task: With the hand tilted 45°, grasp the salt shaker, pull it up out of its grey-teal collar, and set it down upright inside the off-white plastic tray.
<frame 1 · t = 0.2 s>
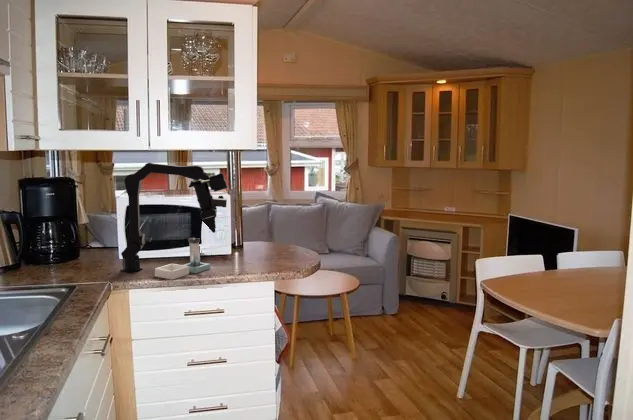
hand: (214, 230, 216), 16 cm above the countertop, tool pointing down, fingers open, 9 cm apart
tray: (172, 275, 205), on the countertop
salt shaker: (194, 254, 212), in the collar
collar: (195, 269, 213), on the countertop
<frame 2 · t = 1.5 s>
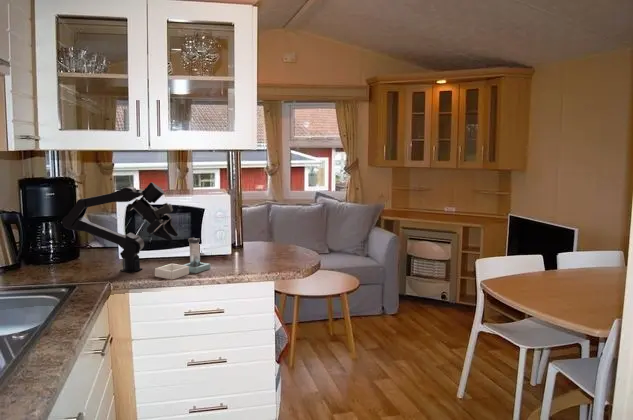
hand: (174, 237, 211), 13 cm above the countertop, tool tilted 45°, fingers open, 9 cm apart
nothing on the countertop moved.
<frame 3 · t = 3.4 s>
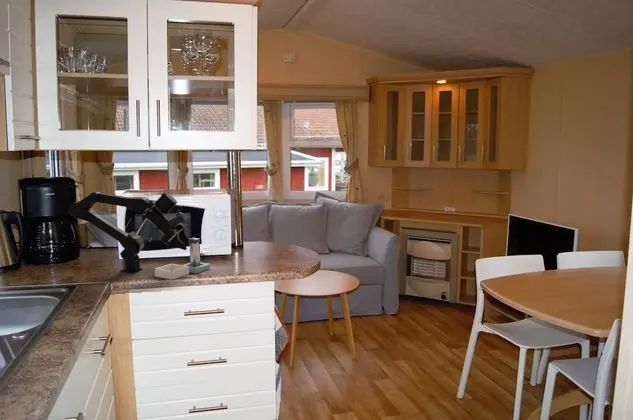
hand: (188, 247, 212), 10 cm above the countertop, tool tilted 45°, fingers open, 9 cm apart
nothing on the countertop moved.
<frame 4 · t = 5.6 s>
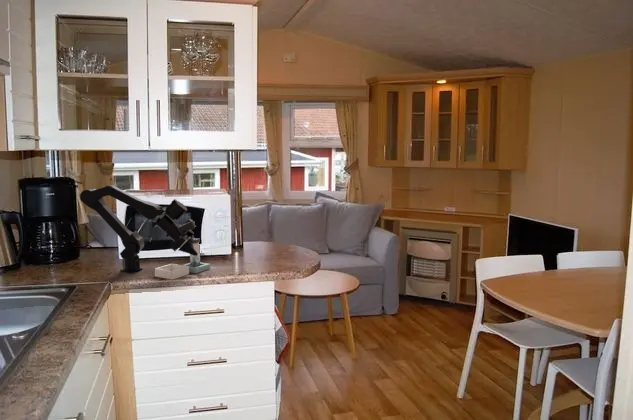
hand: (198, 253, 212), 7 cm above the countertop, tool tilted 45°, fingers closed on salt shaker, 4 cm apart
salt shaker: (194, 254, 212), in the collar, touching gripper
everything else where it was.
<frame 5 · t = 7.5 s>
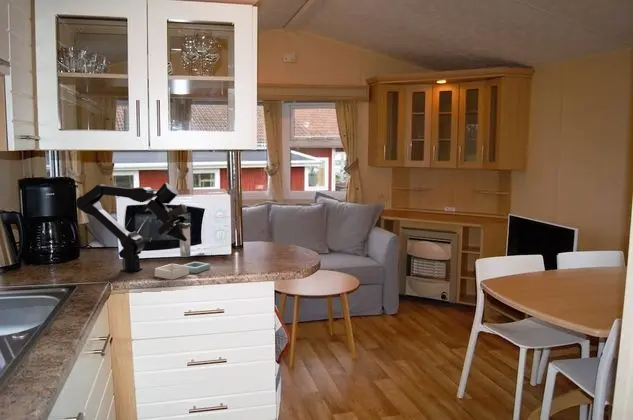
hand: (188, 239, 207), 13 cm above the countertop, tool tilted 45°, fingers closed on salt shaker, 4 cm apart
salt shaker: (185, 239, 207), point 13 cm above the countertop, touching gripper
everything else where it was.
when the fingers open (8 cm above the countertop, at t = 9.9 s): salt shaker drops 1 cm, resting on tray.
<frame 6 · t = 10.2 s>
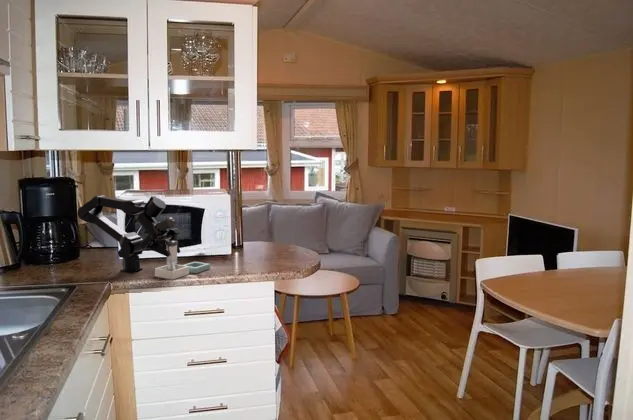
hand: (174, 254, 203), 9 cm above the countertop, tool tilted 45°, fingers open, 7 cm apart
salt shaker: (171, 257, 204), in the tray, point 7 cm above the countertop
everything else where it was.
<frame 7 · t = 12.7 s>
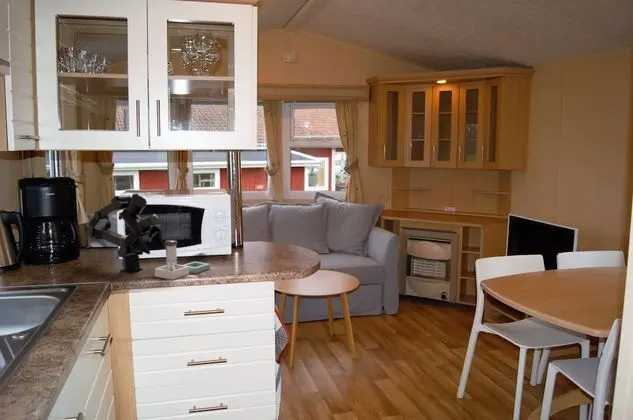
hand: (157, 251, 206), 9 cm above the countertop, tool tilted 40°, fingers open, 9 cm apart
nothing on the countertop moved.
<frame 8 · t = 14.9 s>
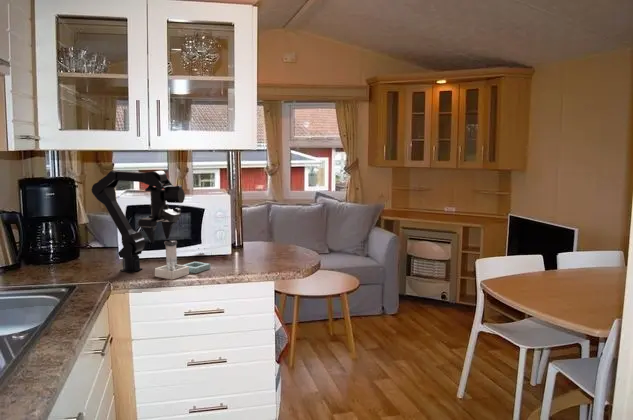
hand: (160, 240, 207), 13 cm above the countertop, tool pointing down, fingers open, 9 cm apart
nothing on the countertop moved.
at the end: salt shaker 0.0 cm off-centre on the tray, point 7.1 cm above the tray's base; salt shaker tilted 0°; the gripper is holding nothing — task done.
